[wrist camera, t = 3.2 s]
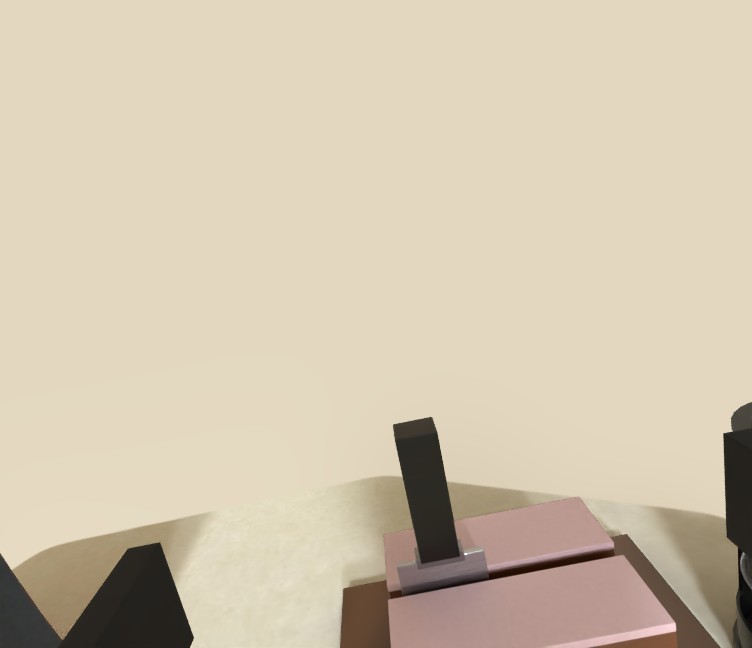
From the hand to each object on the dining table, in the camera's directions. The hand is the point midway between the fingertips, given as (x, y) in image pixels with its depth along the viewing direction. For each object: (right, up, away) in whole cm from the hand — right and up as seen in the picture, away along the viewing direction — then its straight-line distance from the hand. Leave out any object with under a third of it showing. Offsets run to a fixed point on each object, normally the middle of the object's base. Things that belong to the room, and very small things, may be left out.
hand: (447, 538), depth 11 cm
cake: (+8, -19, +23) cm, 30 cm away
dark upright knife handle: (+4, -19, +23) cm, 30 cm away
